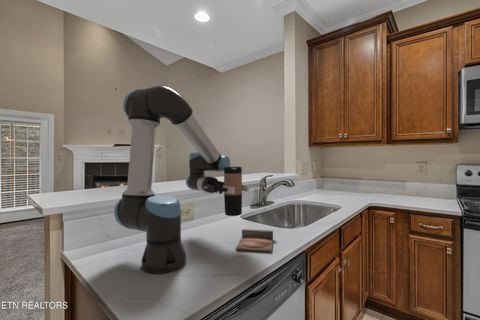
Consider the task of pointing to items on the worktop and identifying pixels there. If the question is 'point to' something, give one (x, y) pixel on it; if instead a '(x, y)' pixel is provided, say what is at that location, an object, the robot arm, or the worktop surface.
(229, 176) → the travel mug
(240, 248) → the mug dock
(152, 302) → the worktop surface
